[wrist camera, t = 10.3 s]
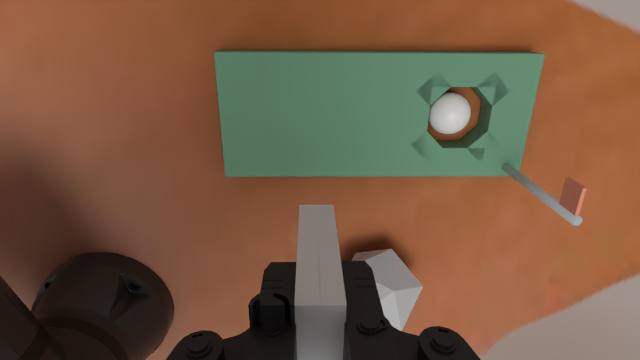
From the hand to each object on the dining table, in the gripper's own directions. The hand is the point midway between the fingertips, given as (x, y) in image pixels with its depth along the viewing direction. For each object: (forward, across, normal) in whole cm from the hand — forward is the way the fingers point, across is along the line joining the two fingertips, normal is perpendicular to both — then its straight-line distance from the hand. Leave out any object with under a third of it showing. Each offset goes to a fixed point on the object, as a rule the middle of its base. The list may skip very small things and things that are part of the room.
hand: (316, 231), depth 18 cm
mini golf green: (+24, +6, 0) cm, 25 cm away
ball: (+22, +13, 0) cm, 26 cm away
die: (+24, +7, -19) cm, 31 cm away
